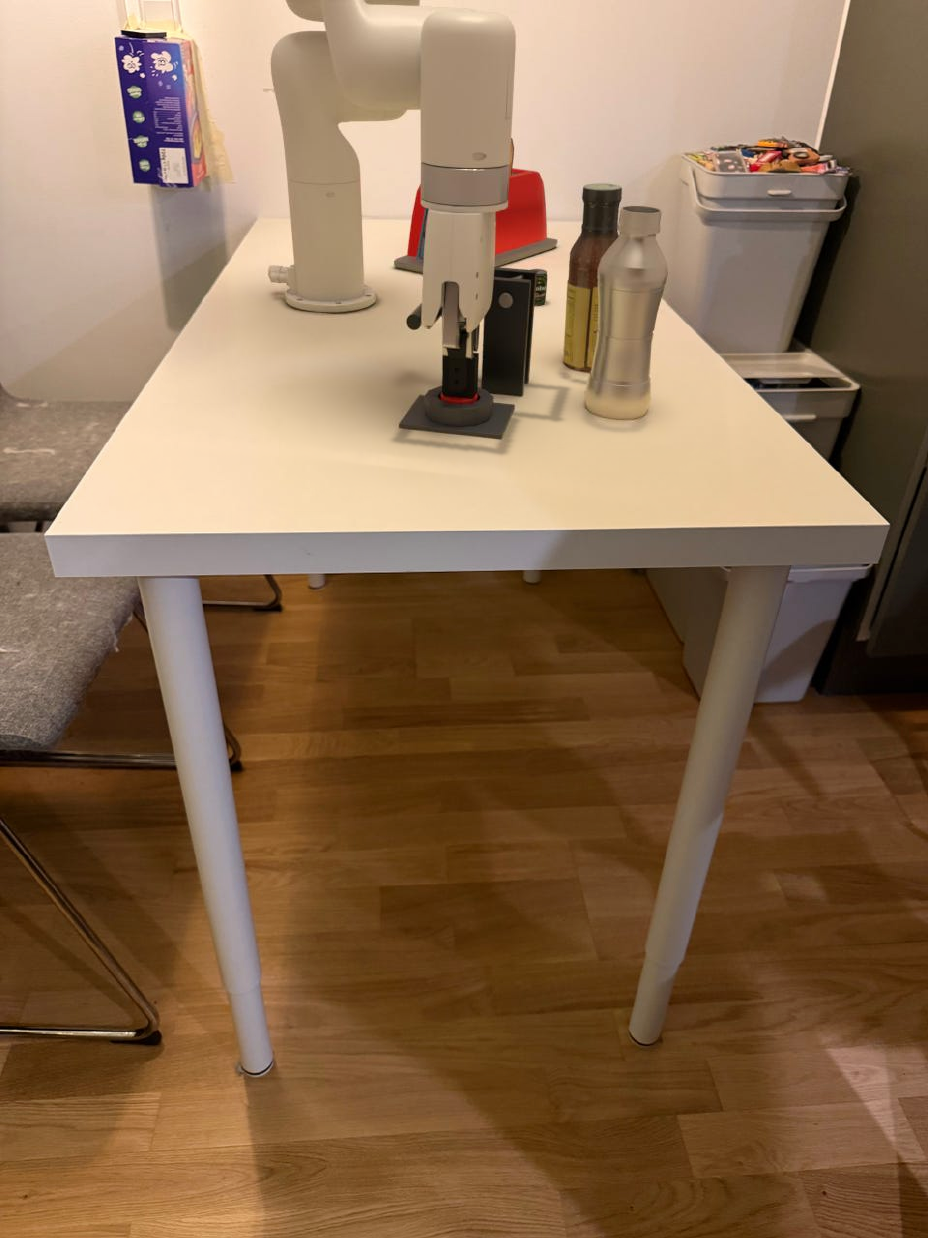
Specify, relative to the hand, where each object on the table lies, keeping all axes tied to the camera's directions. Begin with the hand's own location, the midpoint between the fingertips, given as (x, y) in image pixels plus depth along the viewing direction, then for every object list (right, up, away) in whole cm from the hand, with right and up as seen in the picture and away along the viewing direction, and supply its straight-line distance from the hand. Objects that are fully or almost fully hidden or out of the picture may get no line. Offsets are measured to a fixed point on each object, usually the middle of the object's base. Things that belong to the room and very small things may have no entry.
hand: (459, 394), depth 85 cm
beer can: (+11, +23, +41) cm, 48 cm away
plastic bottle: (+16, -1, +6) cm, 17 cm away
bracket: (+5, +2, +10) cm, 11 cm away
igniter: (0, -3, +2) cm, 4 cm away
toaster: (+3, +39, +63) cm, 74 cm away
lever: (+1, +10, +6) cm, 11 cm away
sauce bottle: (+15, +6, +17) cm, 23 cm away
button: (0, -1, +1) cm, 2 cm away
